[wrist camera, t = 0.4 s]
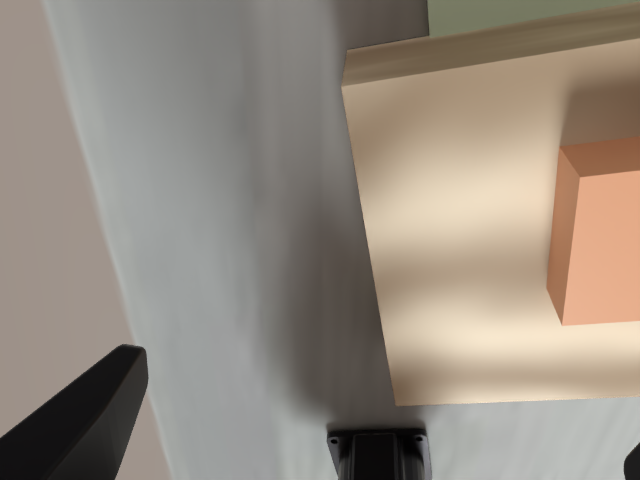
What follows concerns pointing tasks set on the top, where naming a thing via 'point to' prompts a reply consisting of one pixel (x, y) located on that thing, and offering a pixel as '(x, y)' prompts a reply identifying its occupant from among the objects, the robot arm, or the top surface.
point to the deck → (487, 202)
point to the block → (596, 233)
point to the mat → (501, 12)
